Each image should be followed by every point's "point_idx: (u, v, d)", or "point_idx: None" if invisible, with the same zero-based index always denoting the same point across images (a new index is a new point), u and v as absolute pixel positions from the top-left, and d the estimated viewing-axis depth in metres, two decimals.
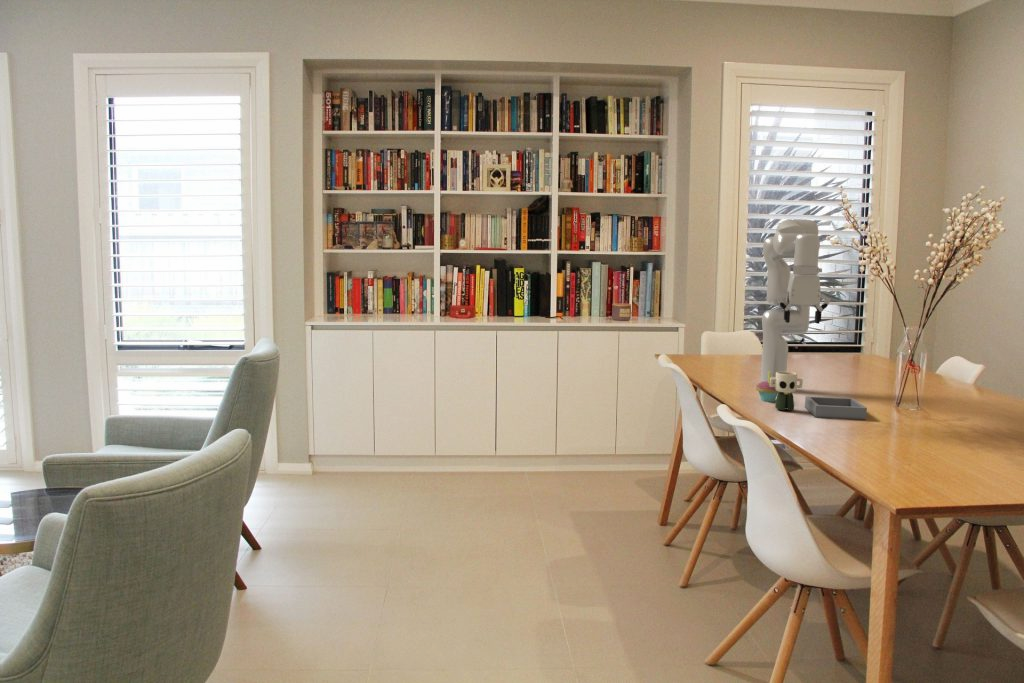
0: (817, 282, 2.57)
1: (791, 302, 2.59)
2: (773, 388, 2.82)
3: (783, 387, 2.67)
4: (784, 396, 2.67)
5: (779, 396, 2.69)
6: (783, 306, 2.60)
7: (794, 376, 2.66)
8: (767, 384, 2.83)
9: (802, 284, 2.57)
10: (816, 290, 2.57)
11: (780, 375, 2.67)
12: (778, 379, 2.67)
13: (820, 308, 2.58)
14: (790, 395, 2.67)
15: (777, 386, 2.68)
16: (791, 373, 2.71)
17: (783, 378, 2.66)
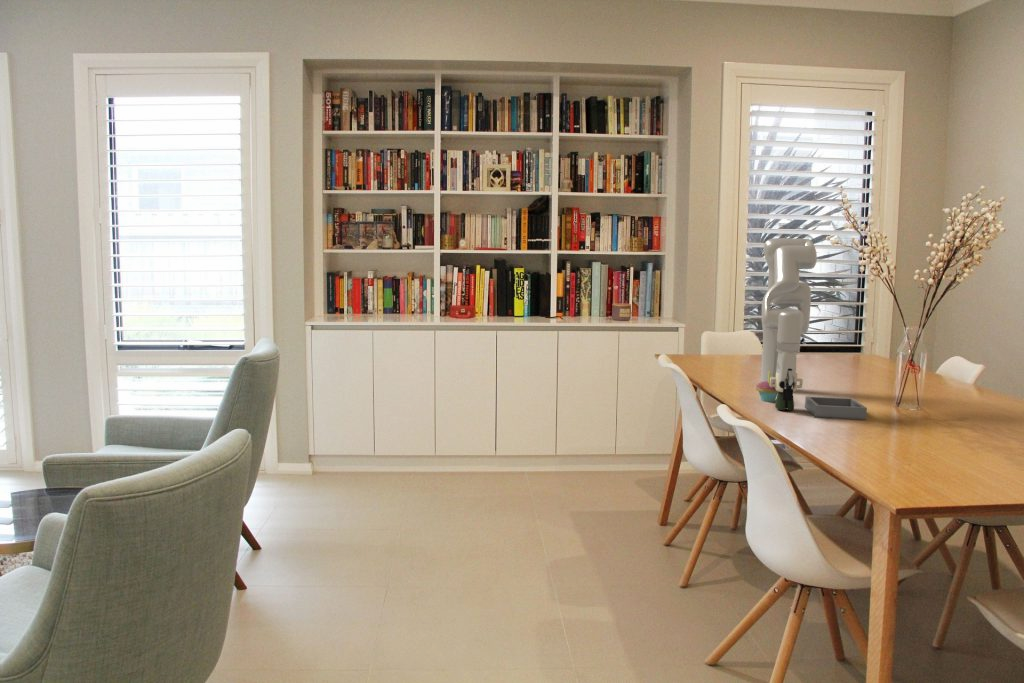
0: None
1: (794, 379, 2.64)
2: (773, 388, 2.82)
3: (783, 387, 2.67)
4: None
5: (779, 396, 2.69)
6: None
7: None
8: (767, 384, 2.83)
9: None
10: None
11: None
12: (778, 379, 2.67)
13: None
14: None
15: (777, 386, 2.68)
16: None
17: None
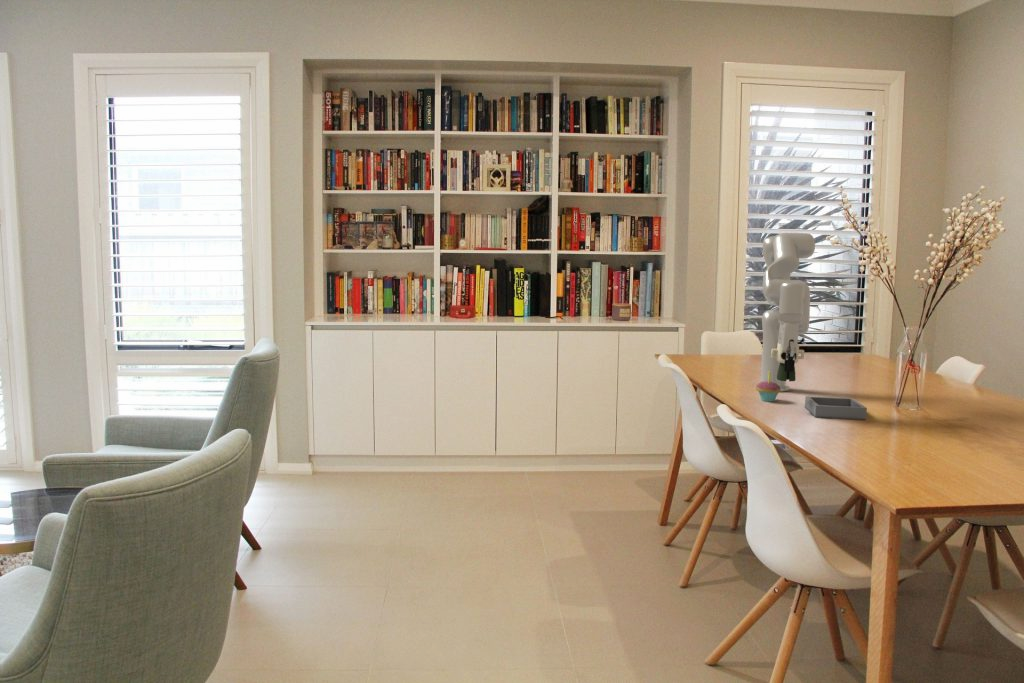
0: None
1: (796, 350, 2.63)
2: (773, 388, 2.82)
3: (785, 358, 2.66)
4: None
5: (781, 367, 2.68)
6: None
7: None
8: (767, 384, 2.83)
9: None
10: None
11: None
12: (780, 350, 2.67)
13: None
14: None
15: (779, 357, 2.67)
16: None
17: None
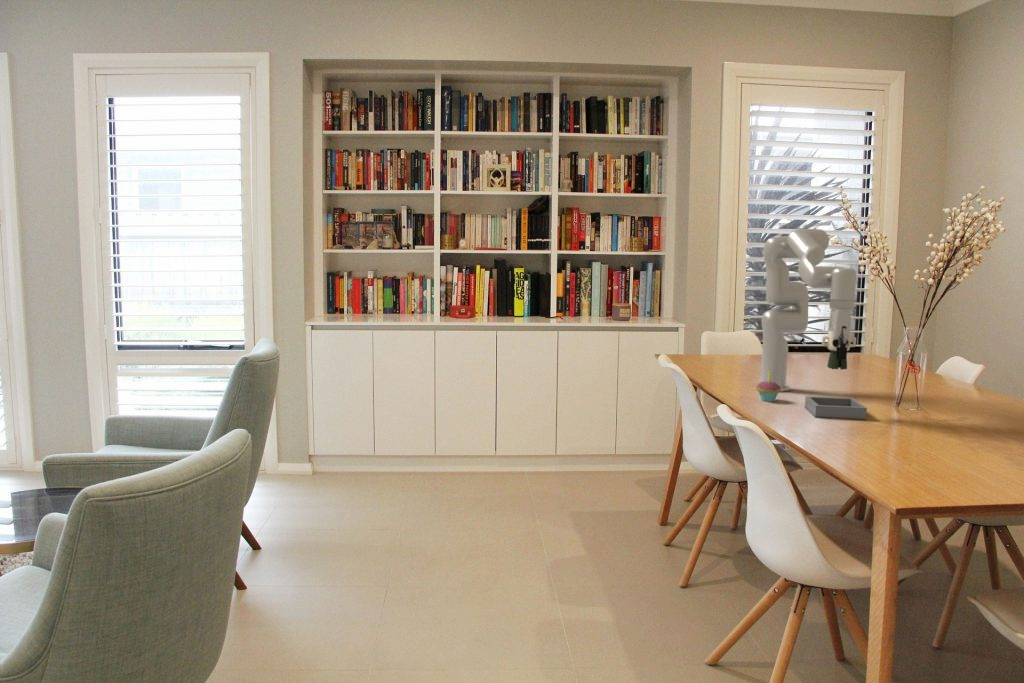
0: None
1: None
2: (773, 388, 2.82)
3: (836, 345, 2.60)
4: None
5: (832, 355, 2.62)
6: None
7: None
8: (767, 384, 2.83)
9: None
10: None
11: None
12: (831, 337, 2.61)
13: None
14: None
15: (830, 345, 2.62)
16: None
17: None
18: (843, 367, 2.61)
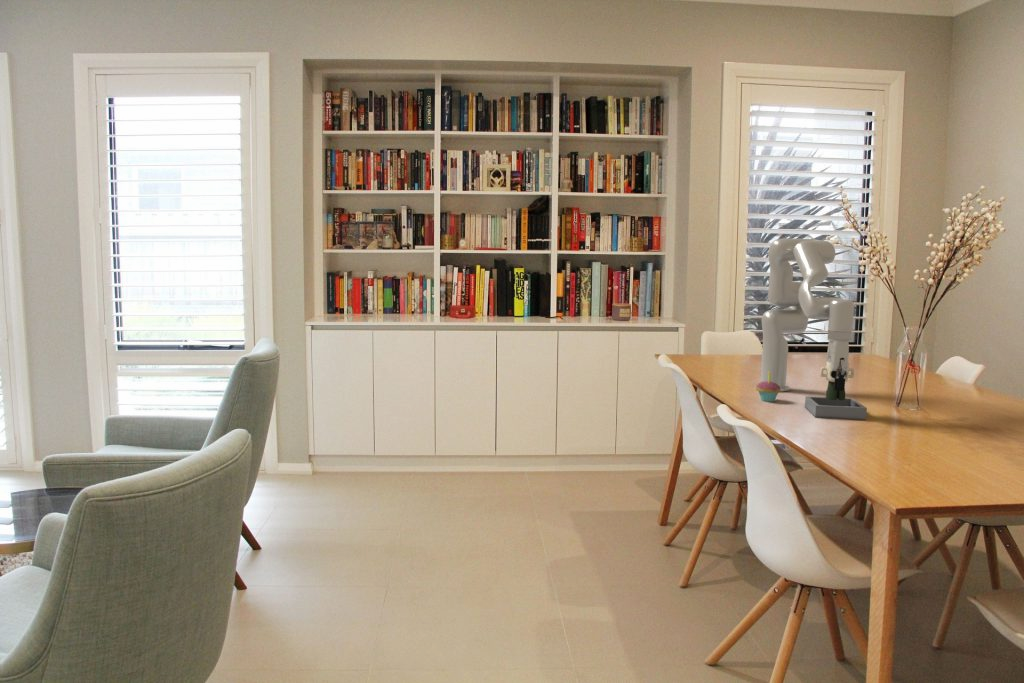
0: None
1: None
2: (773, 388, 2.82)
3: (835, 377, 2.62)
4: None
5: (830, 386, 2.64)
6: None
7: None
8: (767, 384, 2.83)
9: None
10: None
11: None
12: (829, 369, 2.62)
13: None
14: None
15: (828, 376, 2.63)
16: None
17: None
18: (841, 398, 2.62)
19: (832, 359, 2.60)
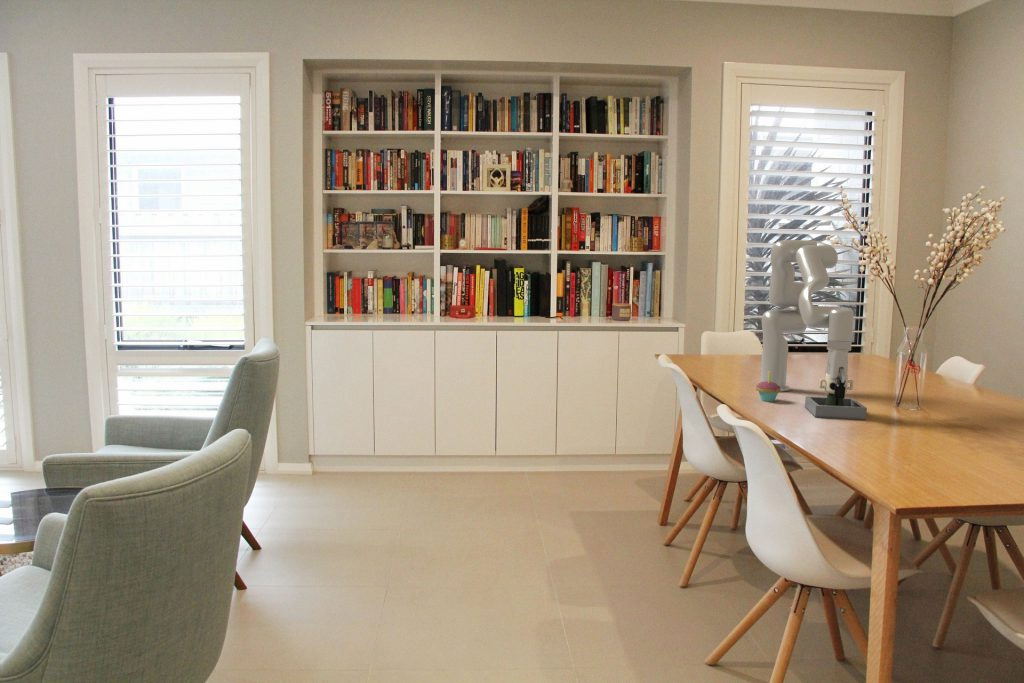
0: None
1: (846, 377, 2.60)
2: (773, 388, 2.82)
3: (834, 389, 2.62)
4: (834, 398, 2.63)
5: (829, 398, 2.64)
6: None
7: None
8: (767, 384, 2.83)
9: None
10: None
11: None
12: (828, 380, 2.63)
13: None
14: None
15: (827, 388, 2.64)
16: None
17: (834, 379, 2.62)
18: None
19: (831, 368, 2.61)
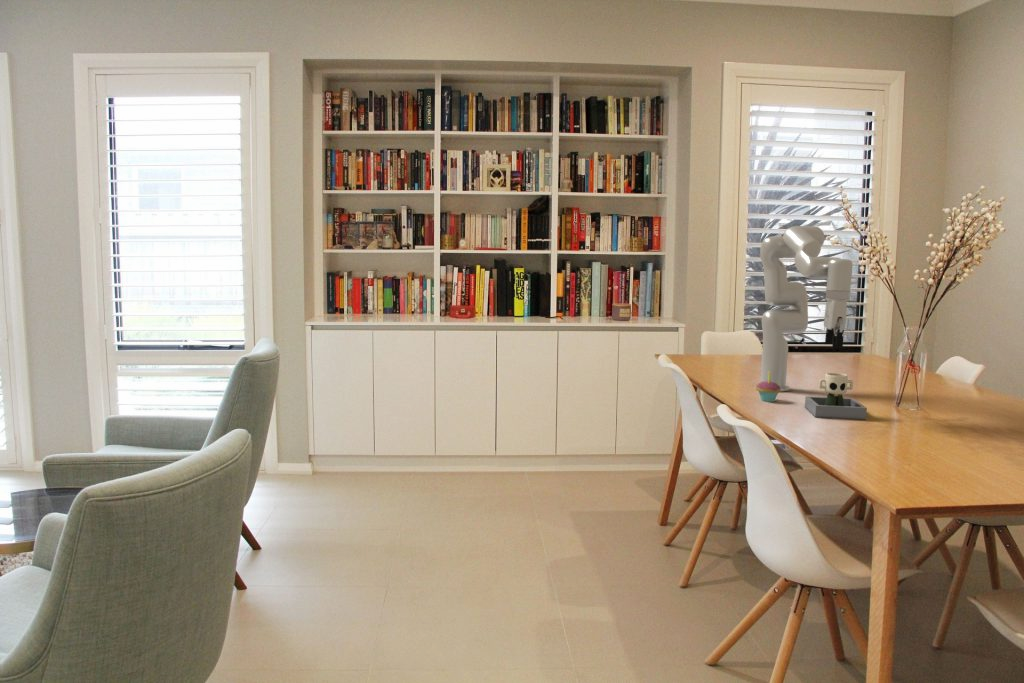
0: None
1: (844, 327, 2.60)
2: (773, 388, 2.82)
3: (833, 389, 2.62)
4: (834, 398, 2.63)
5: (829, 398, 2.64)
6: None
7: (845, 377, 2.61)
8: (767, 384, 2.83)
9: None
10: None
11: (830, 376, 2.62)
12: (828, 380, 2.63)
13: None
14: (840, 397, 2.63)
15: (827, 388, 2.64)
16: (841, 374, 2.66)
17: (833, 379, 2.62)
18: None
19: (830, 318, 2.61)
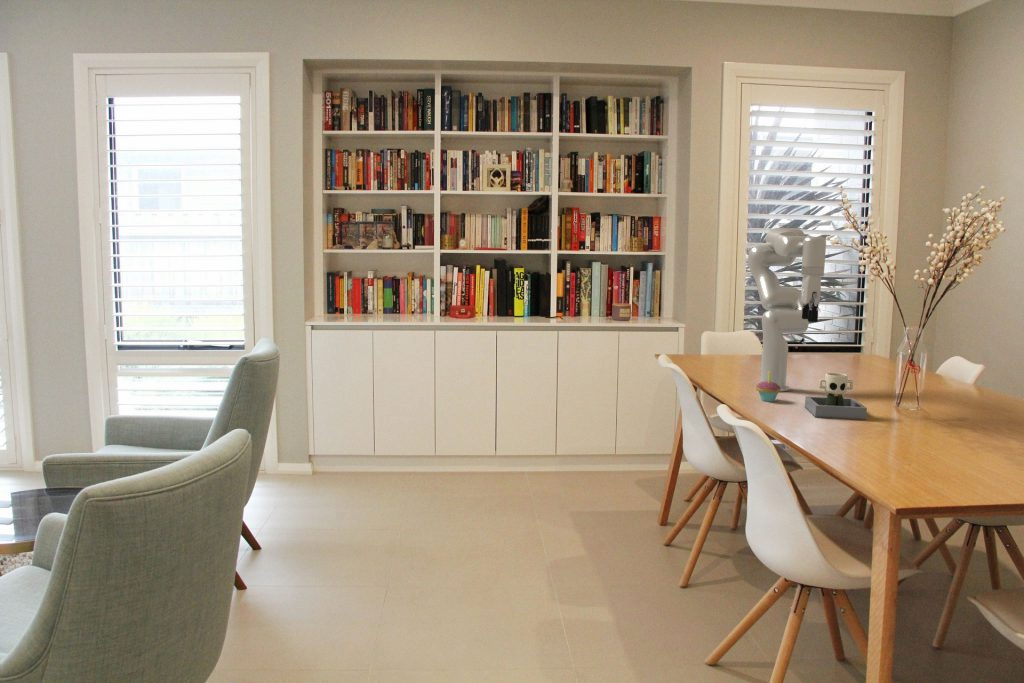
0: None
1: (819, 302, 2.71)
2: (773, 388, 2.82)
3: (833, 389, 2.62)
4: (834, 398, 2.63)
5: (829, 398, 2.64)
6: None
7: (845, 377, 2.61)
8: (767, 384, 2.83)
9: None
10: None
11: (830, 376, 2.62)
12: (828, 380, 2.63)
13: None
14: (840, 397, 2.63)
15: (827, 388, 2.64)
16: (841, 374, 2.66)
17: (833, 379, 2.62)
18: None
19: (805, 293, 2.73)
